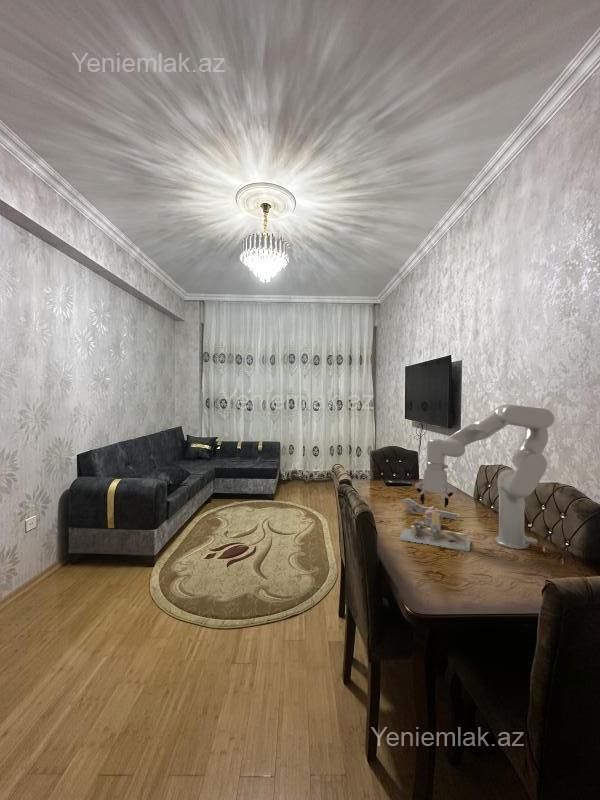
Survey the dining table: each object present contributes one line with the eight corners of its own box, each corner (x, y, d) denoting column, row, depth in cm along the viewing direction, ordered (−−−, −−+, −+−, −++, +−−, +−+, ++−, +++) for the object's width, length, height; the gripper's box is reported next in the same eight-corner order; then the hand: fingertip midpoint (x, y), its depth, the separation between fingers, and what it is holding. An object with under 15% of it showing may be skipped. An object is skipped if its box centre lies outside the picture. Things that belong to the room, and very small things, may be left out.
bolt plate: (470, 541, 159) (470, 538, 159) (469, 551, 149) (469, 547, 149) (404, 531, 172) (404, 527, 172) (399, 539, 161) (399, 536, 161)
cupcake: (439, 530, 173) (439, 509, 173) (420, 526, 179) (420, 506, 179) (445, 525, 180) (445, 505, 181) (426, 521, 186) (426, 502, 186)
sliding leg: (440, 533, 164) (440, 512, 164) (439, 538, 158) (439, 516, 158) (431, 532, 165) (431, 511, 166) (429, 536, 160) (429, 515, 160)
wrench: (460, 526, 189) (401, 512, 201) (460, 525, 190) (401, 511, 202) (462, 511, 188) (402, 497, 200) (462, 510, 190) (403, 497, 202)
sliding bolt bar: (466, 538, 159) (466, 527, 159) (465, 543, 153) (465, 532, 153) (411, 530, 169) (412, 519, 169) (409, 534, 164) (409, 523, 164)
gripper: (456, 467, 163) (455, 505, 163) (416, 463, 171) (415, 500, 170) (455, 470, 156) (454, 510, 156) (414, 465, 164) (412, 503, 164)
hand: (434, 504), depth 163 cm, fingers open, 9 cm apart
